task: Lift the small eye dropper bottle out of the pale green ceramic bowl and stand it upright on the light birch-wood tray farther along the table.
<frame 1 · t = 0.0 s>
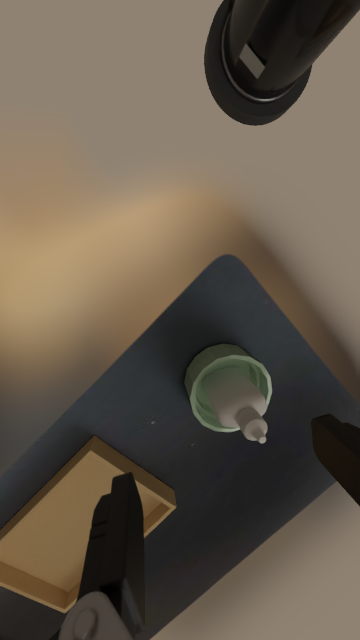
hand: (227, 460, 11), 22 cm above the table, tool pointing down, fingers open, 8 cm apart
eye dropper bottle: (221, 378, 35), resting on bowl
tray: (81, 518, 37), on the table
bowl: (220, 378, 35), on the table
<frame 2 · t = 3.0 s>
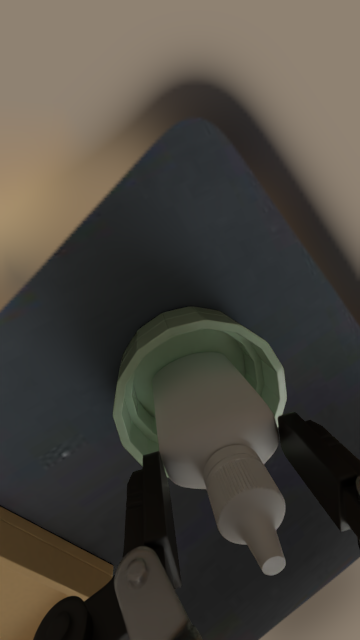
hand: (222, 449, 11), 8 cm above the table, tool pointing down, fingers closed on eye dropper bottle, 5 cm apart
eye dropper bottle: (190, 374, 19), resting on bowl, touching gripper
bowl: (189, 373, 19), on the table
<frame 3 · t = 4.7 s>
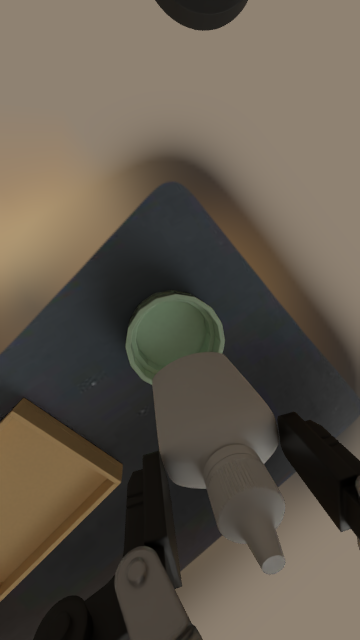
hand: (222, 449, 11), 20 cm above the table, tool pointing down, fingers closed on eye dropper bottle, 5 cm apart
eye dropper bottle: (190, 374, 19), point 12 cm above the table, touching gripper
tray: (14, 496, 32), on the table
bowl: (171, 332, 30), on the table
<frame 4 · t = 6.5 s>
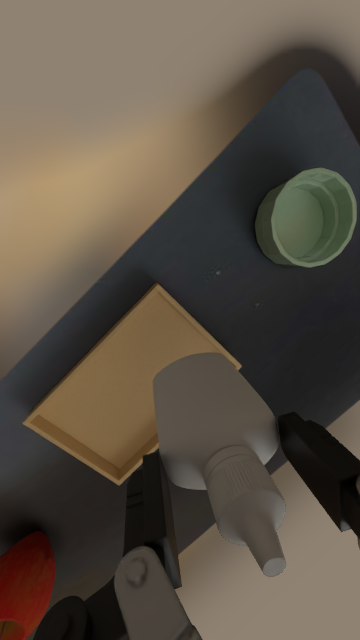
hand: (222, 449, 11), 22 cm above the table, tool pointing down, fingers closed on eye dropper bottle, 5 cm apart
apple: (37, 534, 38), on the table
eye dropper bottle: (190, 374, 19), point 15 cm above the table, touching gripper
tray: (137, 383, 34), on the table
bowl: (291, 224, 32), on the table
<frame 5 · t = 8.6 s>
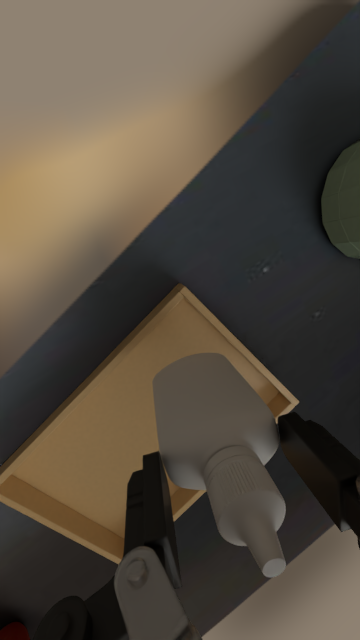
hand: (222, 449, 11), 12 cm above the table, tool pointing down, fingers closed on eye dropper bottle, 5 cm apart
apple: (14, 625, 28), on the table
eye dropper bottle: (190, 375, 19), point 5 cm above the table, touching gripper
tray: (150, 424, 24), on the table
when the fingers open (8 cm above the table, at t = 10.2 s): eye dropper bottle stays where it is, resting on tray.
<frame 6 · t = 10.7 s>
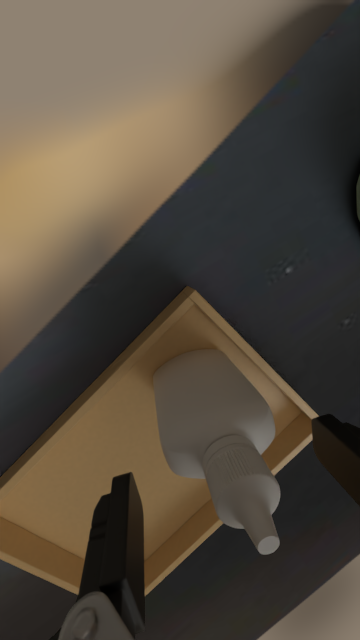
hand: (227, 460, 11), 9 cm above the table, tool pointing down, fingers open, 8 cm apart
eye dropper bottle: (190, 370, 19), point 1 cm above the table, touching tray
tray: (152, 449, 21), on the table
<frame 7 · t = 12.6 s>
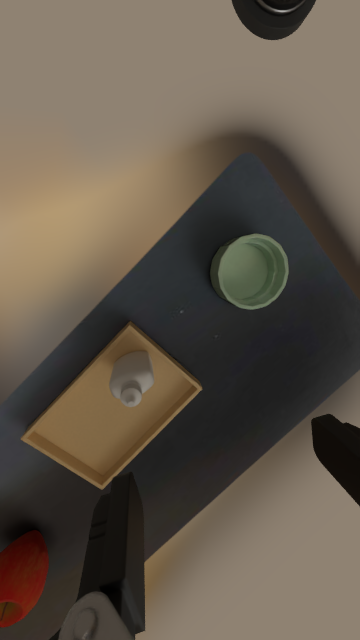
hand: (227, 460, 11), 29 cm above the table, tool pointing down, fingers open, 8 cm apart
apple: (33, 533, 44), on the table
eye dropper bottle: (133, 361, 39), point 1 cm above the table, touching tray
tray: (116, 403, 41), on the table
bowl: (241, 271, 39), on the table
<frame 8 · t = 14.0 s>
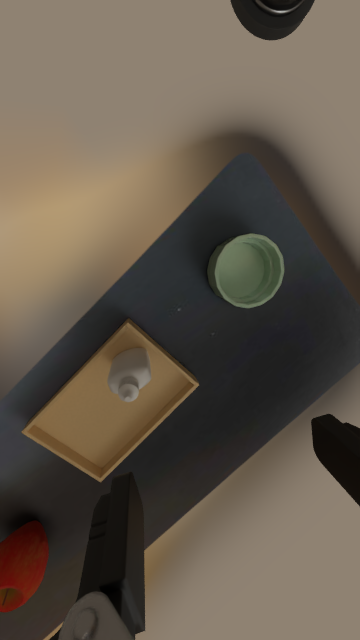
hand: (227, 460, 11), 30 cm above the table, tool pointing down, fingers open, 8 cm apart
apple: (34, 523, 45), on the table
eye dropper bottle: (131, 358, 40), point 1 cm above the table, touching tray
tray: (115, 398, 42), on the table
bowl: (238, 270, 40), on the table
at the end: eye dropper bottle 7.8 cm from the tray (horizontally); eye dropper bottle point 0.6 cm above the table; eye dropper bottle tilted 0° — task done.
